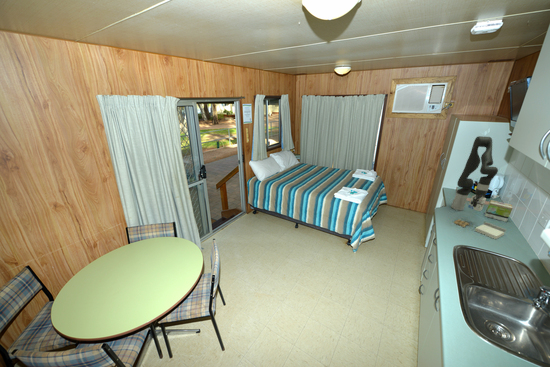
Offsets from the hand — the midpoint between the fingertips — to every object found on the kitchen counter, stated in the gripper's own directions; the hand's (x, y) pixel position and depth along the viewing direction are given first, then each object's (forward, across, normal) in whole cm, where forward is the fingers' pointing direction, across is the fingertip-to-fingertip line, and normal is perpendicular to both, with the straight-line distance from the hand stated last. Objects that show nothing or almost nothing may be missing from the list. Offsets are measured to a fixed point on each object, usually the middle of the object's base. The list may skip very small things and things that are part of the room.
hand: (475, 205), depth 193 cm
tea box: (+18, -32, +6) cm, 37 cm away
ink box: (+3, 0, 0) cm, 3 cm away
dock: (+17, +5, +16) cm, 24 cm away
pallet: (+17, +10, -2) cm, 20 cm away
